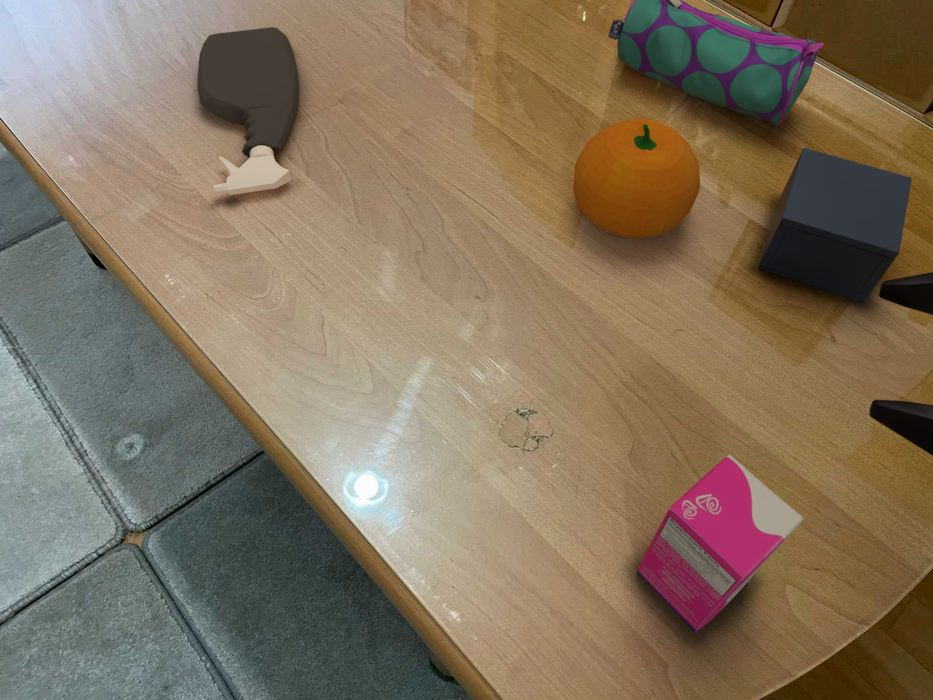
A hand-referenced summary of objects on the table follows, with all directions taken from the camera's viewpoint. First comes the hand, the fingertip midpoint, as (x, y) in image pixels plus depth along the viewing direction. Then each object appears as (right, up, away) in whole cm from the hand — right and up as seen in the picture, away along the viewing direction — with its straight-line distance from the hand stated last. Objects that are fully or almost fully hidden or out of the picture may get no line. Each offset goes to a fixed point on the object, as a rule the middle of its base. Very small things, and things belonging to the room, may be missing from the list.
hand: (875, 344), depth 42 cm
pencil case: (+3, +29, +42) cm, 52 cm away
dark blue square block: (+10, +9, +29) cm, 32 cm away
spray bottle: (-46, +25, +39) cm, 65 cm away
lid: (+10, +13, +24) cm, 29 cm away
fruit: (-7, +13, +32) cm, 35 cm away
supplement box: (-7, -17, +11) cm, 21 cm away
